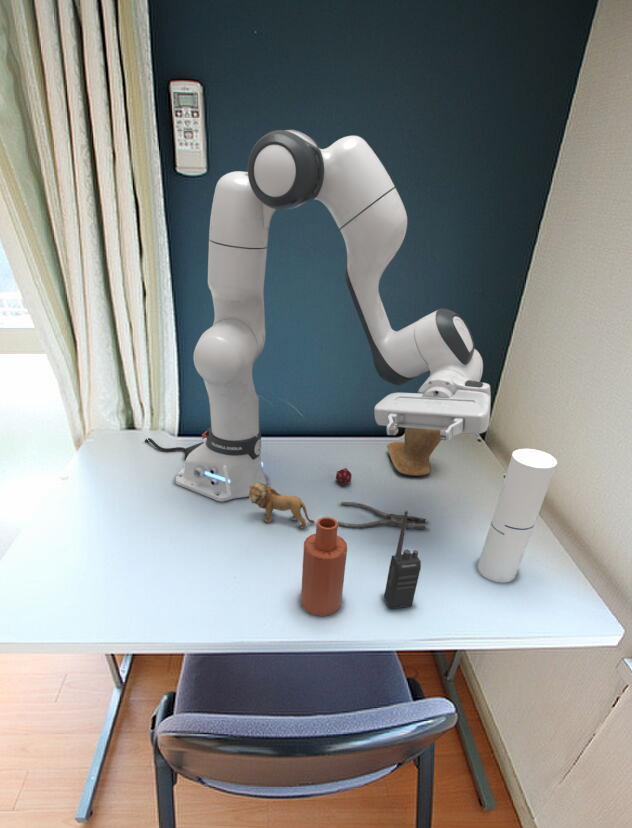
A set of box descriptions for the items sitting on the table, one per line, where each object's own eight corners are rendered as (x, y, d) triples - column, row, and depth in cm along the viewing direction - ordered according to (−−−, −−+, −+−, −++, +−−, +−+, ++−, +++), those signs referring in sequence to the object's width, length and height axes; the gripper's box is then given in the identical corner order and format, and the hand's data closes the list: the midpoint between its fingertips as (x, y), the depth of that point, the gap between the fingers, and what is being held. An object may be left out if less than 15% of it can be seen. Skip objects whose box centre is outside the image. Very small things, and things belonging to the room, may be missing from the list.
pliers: (334, 500, 120) (419, 502, 120) (333, 503, 120) (419, 505, 120) (337, 524, 112) (428, 526, 112) (336, 527, 112) (427, 529, 112)
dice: (354, 485, 127) (356, 471, 125) (338, 488, 126) (339, 474, 124) (347, 478, 130) (349, 464, 128) (331, 481, 129) (333, 467, 127)
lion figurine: (246, 524, 113) (245, 489, 108) (251, 511, 117) (251, 476, 112) (313, 531, 111) (315, 495, 106) (315, 517, 115) (318, 483, 110)
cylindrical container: (511, 587, 97) (553, 472, 83) (473, 573, 100) (508, 460, 86) (518, 567, 102) (560, 455, 88) (482, 554, 105) (517, 445, 91)
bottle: (295, 609, 91) (298, 529, 81) (309, 584, 97) (314, 506, 87) (333, 620, 89) (341, 540, 79) (345, 594, 95) (354, 516, 85)
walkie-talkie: (389, 610, 92) (406, 518, 80) (382, 597, 94) (398, 507, 83) (413, 607, 92) (434, 515, 81) (406, 594, 95) (425, 504, 84)
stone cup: (441, 479, 131) (453, 425, 122) (394, 478, 131) (403, 424, 122) (427, 452, 143) (438, 401, 134) (385, 451, 143) (393, 400, 134)
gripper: (388, 380, 99) (358, 413, 91) (499, 384, 89) (478, 421, 80) (390, 409, 103) (362, 444, 94) (497, 417, 93) (477, 456, 84)
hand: (416, 434), depth 87 cm, fingers open, 8 cm apart
